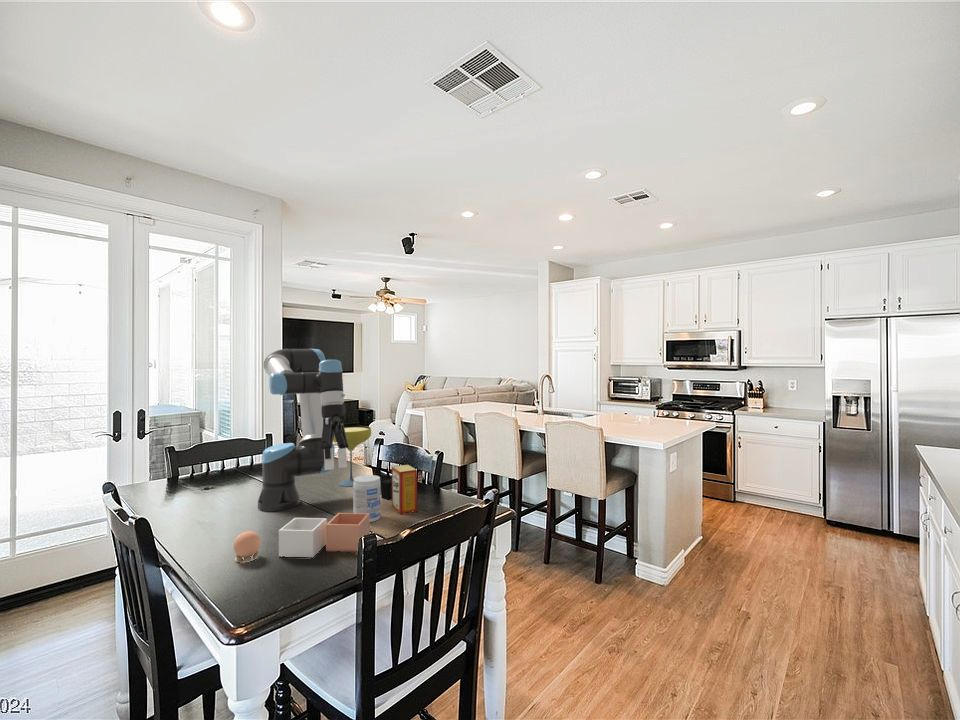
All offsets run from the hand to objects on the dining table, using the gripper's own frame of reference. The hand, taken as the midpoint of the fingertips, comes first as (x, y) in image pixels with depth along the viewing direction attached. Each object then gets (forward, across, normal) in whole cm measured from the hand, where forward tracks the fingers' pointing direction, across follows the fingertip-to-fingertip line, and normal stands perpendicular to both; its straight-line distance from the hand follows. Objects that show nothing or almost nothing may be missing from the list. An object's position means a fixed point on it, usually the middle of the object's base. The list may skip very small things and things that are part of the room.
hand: (336, 468), depth 153 cm
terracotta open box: (+23, -6, -4) cm, 24 cm away
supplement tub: (+19, +16, -5) cm, 25 cm away
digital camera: (+15, +41, -10) cm, 45 cm away
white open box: (+23, -10, +8) cm, 26 cm away
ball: (+18, -17, +22) cm, 33 cm away
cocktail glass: (+8, +60, +13) cm, 62 cm away
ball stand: (+22, -16, +22) cm, 35 cm away
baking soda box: (+18, +26, -16) cm, 36 cm away
